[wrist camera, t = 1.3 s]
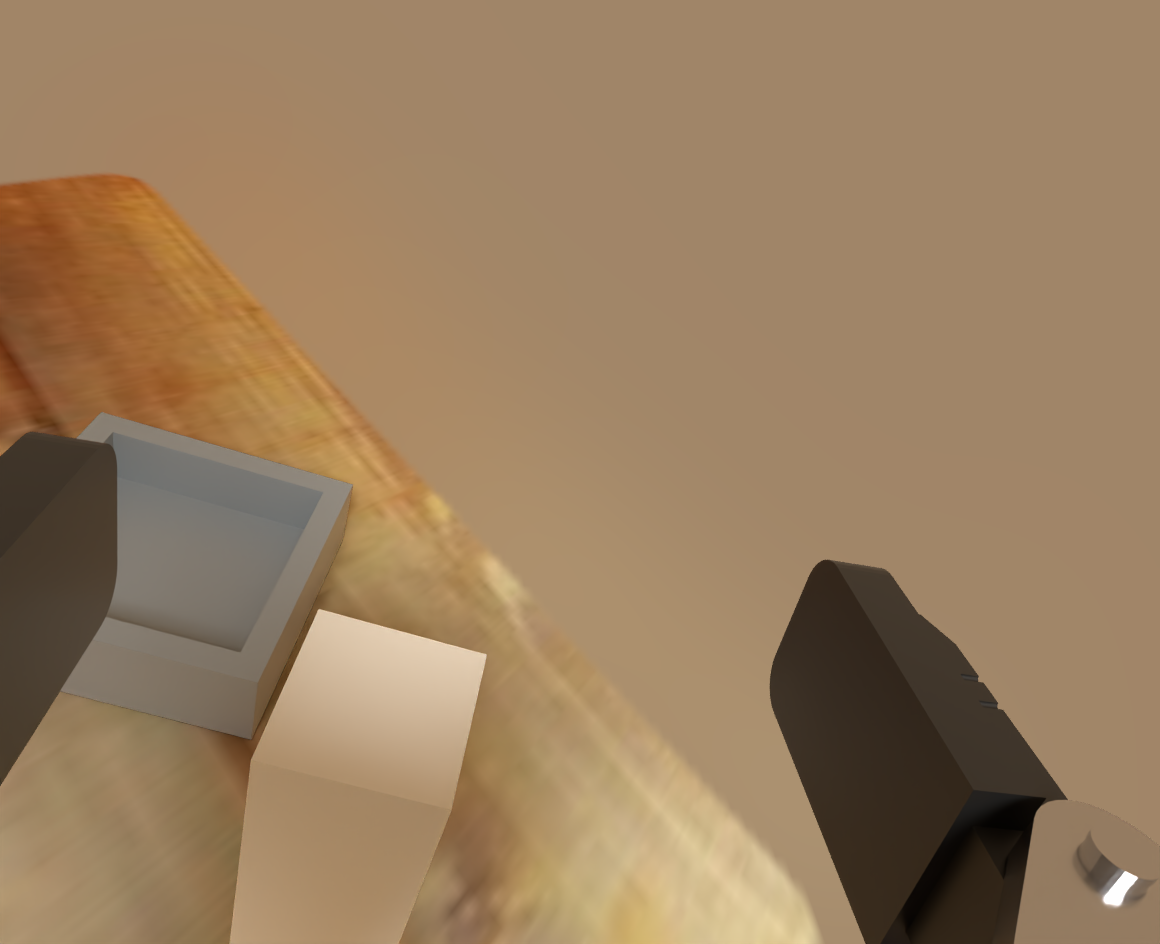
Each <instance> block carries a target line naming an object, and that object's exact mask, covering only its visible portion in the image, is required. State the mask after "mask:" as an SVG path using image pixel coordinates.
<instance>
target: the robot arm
mask: <svg viewBox="0 0 1160 944" xmlns="http://www.w3.org/2000/svg"><path fill="white" fill-rule="evenodd" d="M117 564H118V558H117V459H116V454H115V451H114V449H113V447H112V446H111V445H110V444H107V443H101V442H94V441H88V440H82V439H76V438H69V437H63V436H57V435H51V434H44V433H38V432H29V433H26V434H25V435H24V436H22V437H21V438H20V439H19V440H18V441H17V442H16V443H15V444H13V445H12V446H11V447H10V448H9V449H8V450H7V451H6V452H5V453H4V454H3V455H1V456H0V785H1V784H2V782H3V781H4V779H5V778H6V776H7V774H8V773H9V771H10V770H11V768H12V766H13V765H14V763H15V762H16V760H17V759H18V757H19V755H20V754H21V752H22V751H23V749H24V747H25V746H26V744H27V743H28V741H29V740H30V738H31V736H32V735H33V733H34V732H35V730H36V728H37V727H38V725H39V724H40V722H41V720H42V719H43V717H44V716H45V714H46V713H47V711H48V709H49V708H50V706H51V705H52V703H53V701H54V700H55V698H56V697H57V695H58V694H59V692H60V690H61V689H62V687H63V686H64V684H65V682H66V681H67V679H68V678H69V676H70V675H71V673H72V671H73V670H74V668H75V667H76V665H77V663H78V662H79V660H80V659H81V657H82V655H83V654H84V652H85V651H86V649H87V648H88V646H89V644H90V643H91V641H92V640H93V638H94V636H95V635H96V633H97V632H98V630H99V629H100V627H101V625H102V623H103V622H104V619H105V617H106V615H107V613H108V610H109V607H110V604H111V601H112V597H113V594H114V589H115V584H116V578H117ZM770 698H771V704H772V708H773V711H774V714H775V716H776V719H777V721H778V724H779V726H780V729H781V731H782V734H783V736H784V739H785V742H786V744H787V746H788V749H789V752H790V754H791V756H792V759H793V761H794V764H795V767H796V769H797V772H798V774H799V777H800V779H801V782H802V784H803V787H804V789H805V792H806V795H807V797H808V799H809V802H810V804H811V807H812V810H813V812H814V815H815V817H816V820H817V822H818V825H819V827H820V830H821V832H822V835H823V837H824V840H825V842H826V845H827V847H828V850H829V853H830V855H831V858H832V860H833V863H834V865H835V868H836V870H837V873H838V875H839V878H840V880H841V883H842V885H843V888H844V890H845V893H846V895H847V898H848V900H849V903H850V906H851V908H852V910H853V913H854V916H855V918H856V921H857V923H858V926H859V928H860V931H861V933H862V936H863V938H864V941H865V943H866V944H1160V846H1159V845H1158V844H1157V843H1155V842H1154V841H1153V840H1152V839H1150V838H1149V837H1148V836H1147V835H1145V834H1144V833H1143V832H1141V831H1140V830H1138V829H1137V828H1135V827H1134V826H1132V825H1131V824H1129V823H1128V822H1126V821H1124V820H1122V819H1121V818H1119V817H1117V816H1115V815H1113V814H1111V813H1109V812H1107V811H1105V810H1102V809H1100V808H1097V807H1095V806H1092V805H1089V804H1085V803H1082V802H1078V801H1071V800H1068V799H1067V798H1066V796H1065V795H1064V794H1063V792H1062V791H1061V790H1060V788H1059V787H1058V785H1057V784H1056V783H1055V781H1054V780H1053V778H1052V777H1051V776H1050V774H1049V773H1048V772H1047V770H1046V769H1045V768H1044V766H1043V765H1042V763H1041V762H1040V761H1039V759H1038V758H1037V756H1036V755H1035V754H1034V752H1033V751H1032V749H1031V748H1030V747H1029V745H1028V744H1027V742H1026V741H1025V740H1024V738H1023V737H1022V736H1021V734H1020V733H1019V732H1018V730H1017V729H1016V727H1015V726H1014V725H1013V723H1012V722H1011V720H1010V719H1009V718H1008V716H1007V715H1006V713H1005V712H1004V711H1003V710H1000V709H998V708H997V704H998V702H997V701H996V700H995V698H994V697H993V695H992V694H991V693H990V691H989V690H988V688H987V687H986V686H985V684H984V683H981V682H978V675H977V673H976V672H975V671H974V669H973V668H972V666H971V665H970V664H969V662H968V661H967V659H966V658H965V657H964V655H963V654H962V652H961V651H960V650H959V648H958V647H957V646H956V644H955V643H953V642H952V641H951V640H950V639H949V638H948V637H946V636H945V635H944V634H943V633H942V632H940V631H939V630H938V629H937V628H936V627H934V626H933V625H932V624H931V623H929V622H928V621H927V620H926V619H925V618H924V617H923V616H921V615H919V614H918V613H917V611H916V610H915V608H914V607H913V606H912V604H911V603H910V601H909V600H908V598H907V597H906V596H905V594H904V593H903V591H902V590H901V588H900V587H899V585H898V584H897V583H896V581H895V580H894V578H893V577H892V576H891V574H890V573H889V572H888V571H886V570H885V569H882V568H876V567H870V566H864V565H858V564H851V563H845V562H838V561H832V560H823V561H821V562H819V563H818V564H817V565H816V566H815V567H814V568H813V570H812V572H811V573H810V575H809V577H808V580H807V582H806V584H805V587H804V590H803V592H802V594H801V596H800V599H799V601H798V603H797V606H796V608H795V610H794V613H793V615H792V617H791V620H790V622H789V625H788V627H787V629H786V632H785V634H784V637H783V639H782V641H781V643H780V646H779V648H778V651H777V653H776V655H775V658H774V661H773V665H772V670H771V676H770Z"/></svg>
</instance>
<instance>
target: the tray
mask: <svg viewBox="0 0 1160 944" xmlns="http://www.w3.org/2000/svg"><path fill="white" fill-rule="evenodd" d="M76 439H82V440H88V441H94V442H101V443H107V444H110V445H111V446H112V447H113V449H114V451H115V454H116V459H117V558H118V564H117V578H116V584H115V589H114V594H113V597H112V601H111V604H110V607H109V610H108V613H107V615H106V617H105V619H104V622H103V623H102V625H101V627H100V629H99V630H98V632H97V633H96V635H95V636H94V638H93V640H92V641H91V643H90V644H89V646H88V648H87V649H86V651H85V652H84V654H83V655H82V657H81V659H80V660H79V662H78V663H77V665H76V667H75V668H74V670H73V671H72V673H71V675H70V676H69V678H68V679H67V681H66V682H65V684H64V686H63V687H62V689H61V690H60V691H61V692H65V693H69V694H73V695H77V696H81V697H85V698H89V699H93V700H96V701H100V702H104V703H108V704H112V705H116V706H120V707H124V708H128V709H132V710H136V711H140V712H144V713H148V714H152V715H156V716H160V717H164V718H168V719H171V720H175V721H179V722H183V723H187V724H191V725H195V726H199V727H203V728H207V729H211V730H215V731H219V732H223V733H227V734H231V735H235V736H239V737H242V738H246V739H250V740H251V739H252V737H253V735H254V733H255V731H256V729H257V726H258V724H259V722H260V720H261V718H262V715H263V713H264V711H265V709H266V707H267V705H268V702H269V700H270V698H271V696H272V694H273V691H274V689H275V687H276V685H277V683H278V681H279V678H280V676H281V674H282V672H283V670H284V667H285V665H286V663H287V661H288V659H289V657H290V654H291V652H292V650H293V648H294V646H295V643H296V641H297V639H298V637H299V635H300V633H301V630H302V628H303V626H304V624H305V622H306V619H307V617H308V615H309V613H310V611H311V609H312V606H313V604H314V602H315V600H316V598H317V595H318V593H319V591H320V589H321V587H322V584H323V582H324V580H325V578H326V576H327V574H328V571H329V569H330V567H331V565H332V563H333V560H334V558H335V556H336V554H337V552H338V550H339V547H340V545H341V543H342V541H343V537H344V531H345V526H346V520H347V515H348V509H349V504H350V499H351V493H352V488H353V485H352V484H349V483H345V482H342V481H339V480H335V479H332V478H328V477H325V476H321V475H318V474H314V473H311V472H307V471H304V470H300V469H297V468H294V467H290V466H287V465H283V464H280V463H276V462H273V461H269V460H266V459H262V458H259V457H255V456H252V455H248V454H245V453H242V452H238V451H235V450H231V449H228V448H224V447H221V446H217V445H214V444H210V443H207V442H203V441H200V440H196V439H193V438H190V437H186V436H183V435H179V434H176V433H172V432H169V431H165V430H162V429H158V428H155V427H151V426H148V425H145V424H141V423H138V422H134V421H131V420H127V419H124V418H120V417H117V416H113V415H110V414H106V413H103V412H101V413H100V414H99V415H98V416H97V417H96V418H95V419H94V420H93V421H92V422H91V423H90V424H89V426H88V427H87V428H86V429H85V430H84V431H83V432H82V433H81V434H80V435H79V436H78V437H77V438H76Z"/></svg>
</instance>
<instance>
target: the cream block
mask: <svg viewBox="0 0 1160 944" xmlns="http://www.w3.org/2000/svg"><path fill="white" fill-rule="evenodd" d="M486 657H487V654H483V653H479V652H476V651H472V650H468V649H465V648H461V647H457V646H454V645H450V644H446V643H442V642H439V641H435V640H431V639H428V638H424V637H420V636H417V635H413V634H409V633H406V632H402V631H398V630H395V629H391V628H387V627H384V626H380V625H376V624H373V623H369V622H365V621H362V620H358V619H354V618H350V617H347V616H343V615H339V614H336V613H332V612H328V611H325V610H321V609H318V612H317V614H316V616H315V618H314V621H313V623H312V625H311V627H310V629H309V632H308V634H307V636H306V638H305V641H304V643H303V645H302V647H301V650H300V652H299V654H298V656H297V658H296V661H295V663H294V665H293V667H292V670H291V672H290V674H289V676H288V678H287V681H286V683H285V685H284V687H283V690H282V692H281V694H280V696H279V698H278V701H277V703H276V705H275V707H274V710H273V712H272V714H271V716H270V719H269V721H268V723H267V725H266V727H265V730H264V732H263V734H262V736H261V739H260V741H259V743H258V745H257V747H256V750H255V752H254V754H253V756H252V759H251V764H250V772H249V781H248V789H247V798H246V806H245V815H244V824H243V832H242V841H241V849H240V858H239V866H238V875H237V884H236V892H235V901H234V909H233V918H232V926H231V935H230V944H399V942H400V940H401V937H402V935H403V932H404V929H405V927H406V924H407V922H408V919H409V917H410V914H411V912H412V909H413V907H414V904H415V902H416V899H417V897H418V894H419V891H420V889H421V886H422V884H423V881H424V879H425V876H426V874H427V871H428V869H429V866H430V864H431V861H432V859H433V856H434V853H435V851H436V848H437V846H438V843H439V841H440V838H441V836H442V833H443V831H444V828H445V826H446V823H447V821H448V818H449V815H450V813H451V810H452V806H453V802H454V797H455V793H456V789H457V784H458V780H459V775H460V771H461V767H462V762H463V758H464V753H465V749H466V745H467V740H468V736H469V732H470V727H471V723H472V718H473V714H474V710H475V705H476V701H477V696H478V692H479V688H480V683H481V679H482V674H483V670H484V666H485V661H486Z"/></svg>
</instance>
